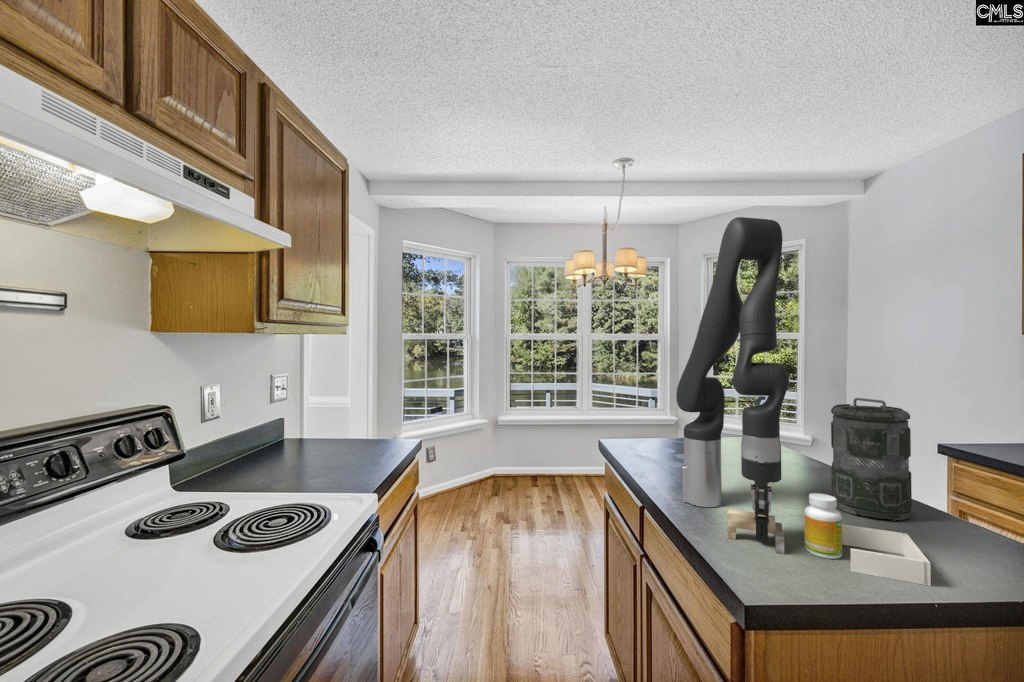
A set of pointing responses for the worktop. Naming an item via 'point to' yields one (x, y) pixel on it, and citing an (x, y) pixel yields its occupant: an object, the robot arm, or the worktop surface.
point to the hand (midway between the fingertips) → (761, 536)
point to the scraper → (754, 526)
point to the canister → (871, 460)
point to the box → (886, 555)
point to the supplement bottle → (823, 527)
